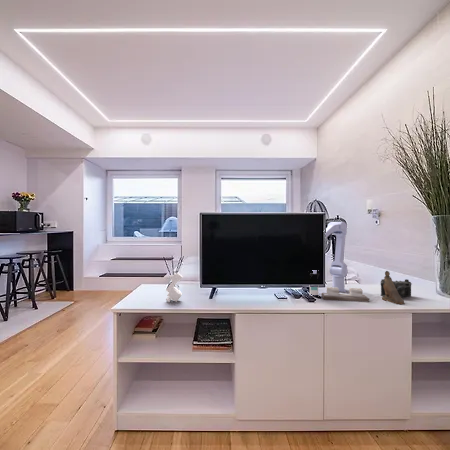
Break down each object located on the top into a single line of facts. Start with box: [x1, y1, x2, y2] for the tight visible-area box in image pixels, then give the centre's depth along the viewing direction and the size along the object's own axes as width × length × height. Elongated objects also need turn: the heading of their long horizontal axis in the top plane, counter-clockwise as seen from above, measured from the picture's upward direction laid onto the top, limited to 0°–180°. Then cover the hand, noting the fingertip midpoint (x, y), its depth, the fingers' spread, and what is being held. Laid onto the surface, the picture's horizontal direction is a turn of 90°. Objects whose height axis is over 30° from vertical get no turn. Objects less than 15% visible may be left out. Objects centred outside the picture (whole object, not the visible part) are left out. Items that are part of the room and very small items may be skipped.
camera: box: [380, 278, 412, 298], centre depth 172 cm, size 18×9×10 cm, turn 87°
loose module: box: [309, 286, 319, 296], centre depth 177 cm, size 5×4×7 cm
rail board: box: [321, 286, 370, 302], centre depth 171 cm, size 10×24×6 cm, turn 78°
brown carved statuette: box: [381, 270, 405, 305], centre depth 165 cm, size 12×6×18 cm, turn 13°
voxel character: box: [165, 272, 184, 303], centre depth 167 cm, size 7×12×15 cm
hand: (313, 283), depth 177 cm, fingers open, 7 cm apart
